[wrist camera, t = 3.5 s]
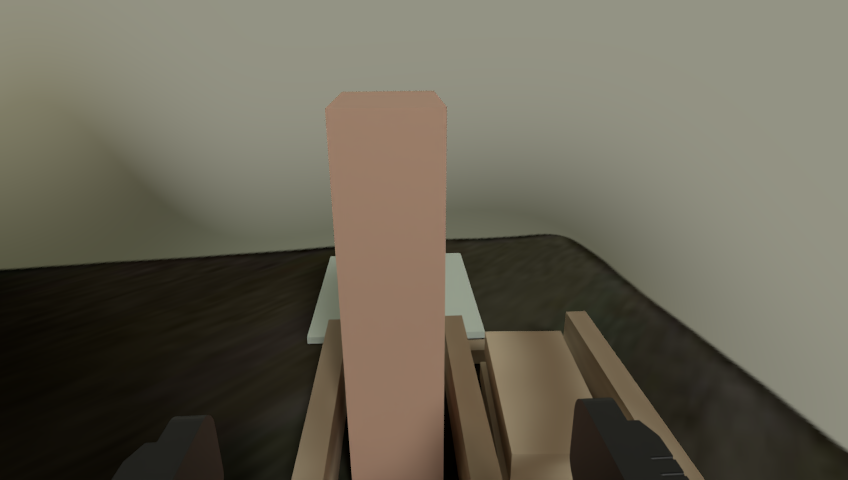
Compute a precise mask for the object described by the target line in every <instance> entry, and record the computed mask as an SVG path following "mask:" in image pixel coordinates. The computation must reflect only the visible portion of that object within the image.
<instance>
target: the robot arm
mask: <svg viewBox="0 0 848 480" xmlns="http://www.w3.org/2000/svg"><path fill="white" fill-rule="evenodd" d="M570 467H571V473H572V477H573V480H689V478H688V477H687V476H685V475H684V471H683V470H682V468H681V467H680V465H679V464H678V462H677V461H676V459H673V455H672V453H671V452H670V451H669V449H668V448H667V446H666V445H665V443H664V442H663V440H662V439H661V437H660V436H659V435H658V434H656V433H655V432H654V431H652V430H651V429H650V428H649V427H647V426H646V425H645V424H644V423H642V422H641V421H640V420H629V421H627V419H626V417H625V416H624V414H623V413H622V411H621V409H620V408H619V406H618V405H617V403H616V402H615V400H614V399H613V398H611V397H606V398H585V399H577V400H576V402H575V407H574V416H573V426H572V435H571V445H570ZM112 480H224V471H223V465H222V460H221V454H220V449H219V444H218V439H217V433H216V428H215V423H214V420H213V418H212V416H211V415H198V416H176V417H173V418H172V419H171V420H170V421H169V423H168V424H167V426H166V428H165V429H164V431H163V433H162V434H161V436H160V438H159V439H158V441H157V442H154V443H145V444H143V445H142V446H141V447H140V448H139V449H138V450H136V451H135V452H134V453H133V454H132V455H131V456H129V457H128V458H127V459H126V460H125V461H124V462H123V463H122V464H121V466H120V467H119V469H118V470H117V472H116V473H115V475H114V477H113V478H112Z"/></svg>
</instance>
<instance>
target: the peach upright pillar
mask: <svg viewBox="0 0 848 480" xmlns="http://www.w3.org/2000/svg"><path fill="white" fill-rule="evenodd" d="M325 113H326V128H327V142H328V155H329V169H330V184H331V197H332V210H333V225H334V239H335V252H336V266H337V280H338V294H339V308H340V321H341V335H342V349H343V363H344V377H345V390H346V404H347V418H348V432H349V446H350V459H351V473H352V480H443V463H444V357H445V252H446V146H447V143H446V142H447V137H446V136H447V107H446V105H445V104H444V103H443V102H442V100H441V99H440V98H439V97H438V95H437V94H436V93H435V92H434V91H383V92H382V91H379V92H378V91H376V92H375V91H374V92H342V93H340V94H339V95H338V96H337V97H336V98H335V99H334V100H333V101H332V102H331V103H330V104H329V105H328V106H327V107H326V108H325Z"/></svg>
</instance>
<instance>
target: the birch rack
mask: <svg viewBox="0 0 848 480" xmlns="http://www.w3.org/2000/svg"><path fill="white" fill-rule="evenodd" d="M563 338H564V340H565V342H566V344H567V346H568V348H569V350H570V352H571V354H572V356H573V358H574V360H575V363H576V365H577V367H578V369H579V371H580V373H581V375H582V377H583V379H584V381H585V383H586V385H587V387H588V390H589V392H590V394H591V396H592V398H606V397H611V398H613V399H614V400H615V402H616V403H617V405H618V406H619V408H620V409H621V411H622V413H623V414H624V416H625V417H626V419H627V421H629V420H640V421H641V422H642V423H644V424H645V425H646V426H647V427H649V428H650V429H651V430H652V431H654V432H655V433H656V434H658V435H659V436H660V437H661V439H662V440H663V442H664V443H665V445H666V446H667V448H668V449H669V451H670V452H671V453H672V455H673V459H676V461H677V462H678V464H679V465H680V467H681V468H682V470H683V471H684V475H685V476H687V477H688V478H689V480H704V478H703V477H702V475H701V474H700V473H699V471H698V470H697V468H696V467H695V465H694V464H693V463H692V461H691V460H690V458H689V457H688V456H687V454H686V453H685V451H684V450H683V449H682V447H681V446H680V444H679V443H678V441H677V440H676V439H675V437H674V436H673V434H672V433H671V432H670V430H669V429H668V427H667V426H666V425H665V423H664V422H663V420H662V419H661V417H660V416H659V415H658V413H657V412H656V410H655V409H654V408H653V406H652V405H651V403H650V402H649V401H648V399H647V398H646V396H645V395H644V393H643V392H642V391H641V389H640V388H639V386H638V385H637V384H636V382H635V381H634V379H633V378H632V377H631V375H630V374H629V372H628V371H627V369H626V368H625V367H624V365H623V364H622V362H621V361H620V360H619V358H618V357H617V355H616V354H615V352H614V351H613V350H612V348H611V347H610V345H609V344H608V343H607V341H606V340H605V338H604V337H603V336H602V334H601V333H600V331H599V330H598V328H597V327H596V326H595V324H594V323H593V321H592V320H591V319H590V317H589V316H588V314H587V313H586V312H585V311H579V312H566V317H565V327H564V336H563ZM484 345H485V339H483V340H468V338H467V334H466V330H465V326H464V322H463V318H462V315H455V316H445V357H444V384H445V391H446V397H447V404H448V411H449V417H450V424H451V431H452V438H453V444H454V451H455V458H456V465H457V471H458V478H459V480H503V479H502V475H501V471H500V467H499V463H498V459H497V455H496V451H495V447H494V443H493V439H492V435H491V431H490V427H489V423H488V419H487V415H486V411H485V406H484V402H483V398H482V394H481V390H480V386H479V382H478V378H477V374H476V370H475V366H474V364H480V362H486V360H485V355H484ZM346 413H347V404H346V390H345V377H344V363H343V349H342V335H341V321H340V319H331V320H328V325H327V329H326V333H325V338H324V342H323V346H322V350H321V355H320V359H319V363H318V368H317V372H316V376H315V381H314V385H313V389H312V393H311V398H310V402H309V406H308V411H307V415H306V419H305V424H304V428H303V432H302V436H301V441H300V445H299V449H298V454H297V458H296V462H295V466H294V471H293V475H292V479H291V480H338V476H339V468H340V460H341V452H342V444H343V436H344V428H345V421H346Z"/></svg>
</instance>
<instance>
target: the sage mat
mask: <svg viewBox="0 0 848 480" xmlns="http://www.w3.org/2000/svg"><path fill="white" fill-rule="evenodd" d="M455 315H462V318H463V322H464V326H465V330H466V334H467V338H485V331H484V327H483V324H482V321H481V318H480V315H479V311H478V308H477V305H476V302H475V299H474V295H473V292H472V289H471V286H470V283H469V280H468V276H467V273H466V270H465V267H464V264H463V260H462V257H461V254H460V253H445V316H455ZM331 319H340V308H339V294H338V280H337V266H336V256H331V257H330V260H329V264H328V267H327V271H326V274H325V278H324V281H323V284H322V288H321V291H320V295H319V298H318V302H317V305H316V308H315V312H314V315H313V319H312V322H311V326H310V329H309V332H308V336H307V342H308V344H319V343H323V342H324V338H325V333H326V329H327V325H328V320H331Z"/></svg>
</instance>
